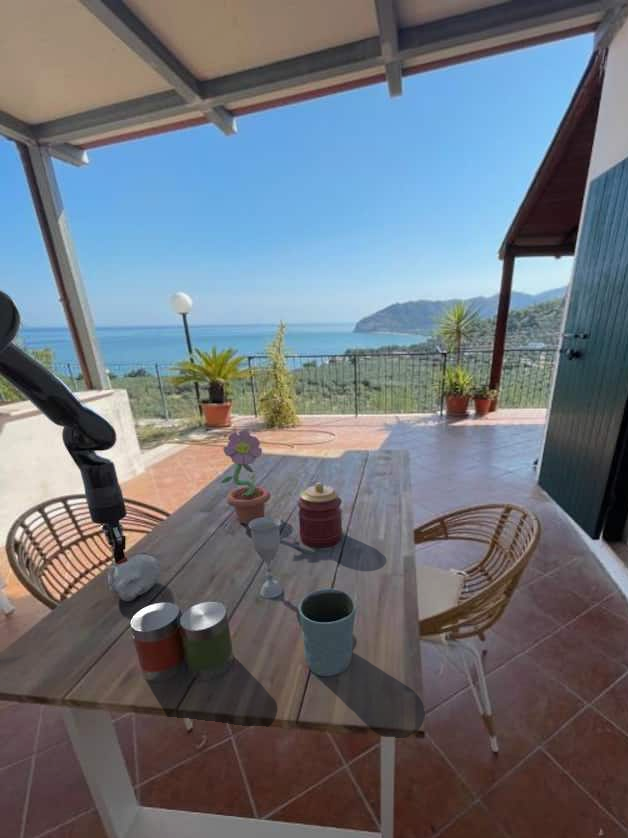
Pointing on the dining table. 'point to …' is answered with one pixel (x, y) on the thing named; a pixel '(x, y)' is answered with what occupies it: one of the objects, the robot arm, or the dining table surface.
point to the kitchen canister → (320, 516)
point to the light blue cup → (327, 630)
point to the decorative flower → (250, 497)
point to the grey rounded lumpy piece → (133, 576)
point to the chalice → (267, 549)
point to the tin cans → (182, 641)
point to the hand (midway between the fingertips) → (120, 561)
